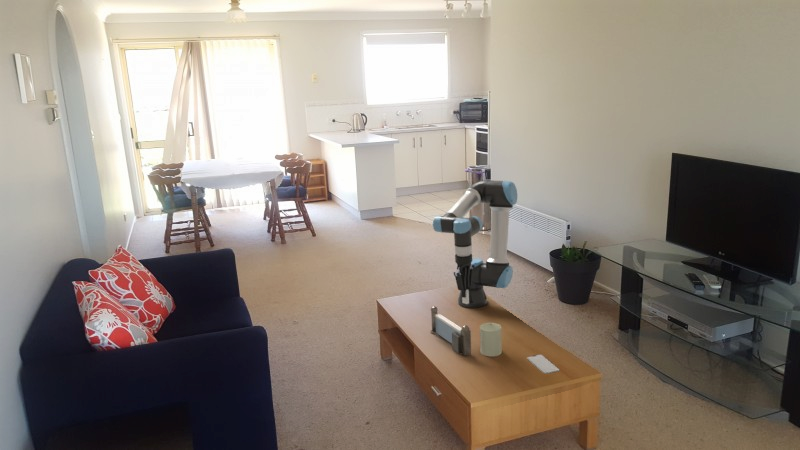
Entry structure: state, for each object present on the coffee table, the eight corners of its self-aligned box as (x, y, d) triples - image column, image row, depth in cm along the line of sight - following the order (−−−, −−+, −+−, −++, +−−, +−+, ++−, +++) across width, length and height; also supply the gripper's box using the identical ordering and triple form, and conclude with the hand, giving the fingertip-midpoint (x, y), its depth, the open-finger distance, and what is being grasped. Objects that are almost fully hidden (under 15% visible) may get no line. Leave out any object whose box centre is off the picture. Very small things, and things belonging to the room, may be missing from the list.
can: (501, 347, 253) (501, 321, 250) (502, 356, 244) (502, 330, 241) (480, 346, 254) (479, 321, 252) (480, 356, 246) (479, 330, 243)
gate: (435, 332, 269) (434, 314, 267) (439, 331, 270) (439, 313, 268) (460, 350, 250) (460, 330, 248) (464, 348, 251) (464, 329, 249)
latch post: (461, 347, 255) (460, 319, 252) (471, 354, 248) (471, 326, 245) (452, 349, 253) (451, 322, 250) (462, 357, 246) (461, 328, 243)
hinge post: (436, 329, 275) (435, 304, 271) (441, 332, 271) (440, 306, 268) (428, 331, 273) (427, 306, 270) (433, 334, 269) (432, 309, 266)
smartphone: (544, 373, 228) (525, 357, 242) (544, 375, 228) (525, 358, 242) (560, 370, 230) (541, 353, 244) (560, 371, 230) (541, 355, 244)
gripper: (465, 248, 263) (467, 296, 270) (447, 256, 254) (450, 306, 260) (479, 251, 258) (480, 299, 265) (461, 259, 249) (463, 309, 255)
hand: (465, 302), depth 262 cm, fingers closed
